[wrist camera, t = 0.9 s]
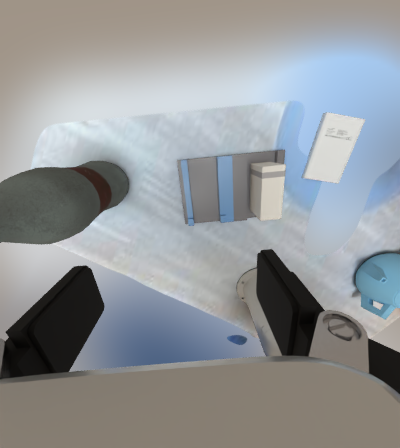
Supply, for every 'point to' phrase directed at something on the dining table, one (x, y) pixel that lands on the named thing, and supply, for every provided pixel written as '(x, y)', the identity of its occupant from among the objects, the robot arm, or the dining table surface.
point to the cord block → (267, 190)
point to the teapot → (380, 283)
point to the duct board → (220, 186)
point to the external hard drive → (332, 147)
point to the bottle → (57, 201)
